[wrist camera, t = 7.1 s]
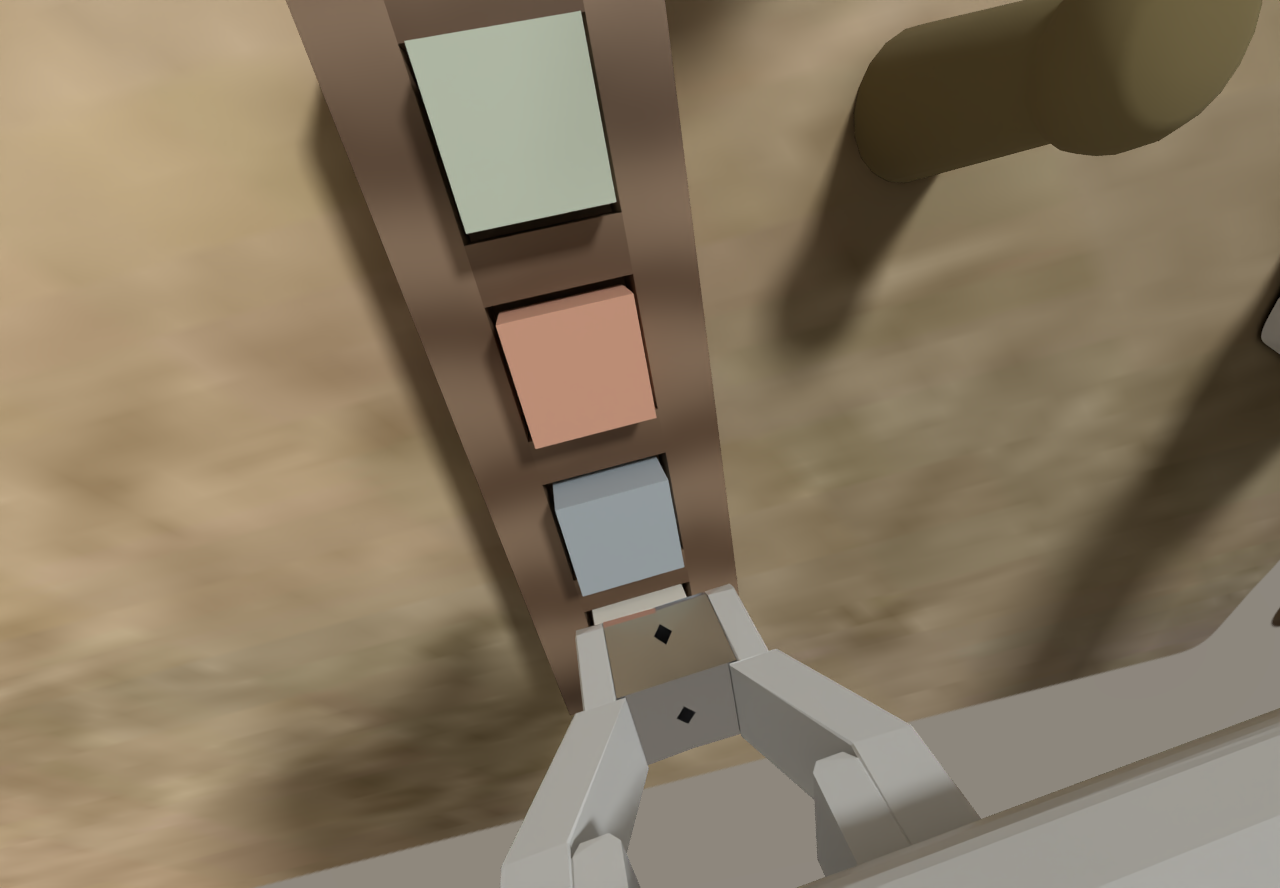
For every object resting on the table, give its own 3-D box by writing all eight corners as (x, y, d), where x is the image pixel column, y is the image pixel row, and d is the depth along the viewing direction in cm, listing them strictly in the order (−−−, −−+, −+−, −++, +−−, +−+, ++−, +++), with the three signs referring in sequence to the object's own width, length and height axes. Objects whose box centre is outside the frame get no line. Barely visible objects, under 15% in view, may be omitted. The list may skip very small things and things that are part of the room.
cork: (866, 205, 24) (1098, 204, 14) (841, 60, 21) (1109, -64, 11) (979, 149, 24) (1289, 110, 14) (969, -3, 21) (1347, -182, 11)
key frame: (331, 32, 18) (281, -12, 14) (631, -18, 19) (656, -70, 15) (565, 660, 33) (570, 715, 29) (723, 612, 34) (746, 659, 30)
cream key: (589, 591, 28) (594, 625, 26) (674, 566, 28) (686, 597, 26) (608, 652, 30) (614, 687, 28) (686, 628, 31) (698, 661, 28)
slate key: (552, 481, 23) (554, 510, 21) (655, 454, 24) (668, 479, 22) (577, 562, 26) (582, 596, 23) (671, 536, 26) (684, 567, 24)
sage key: (421, 63, 16) (404, 40, 14) (573, 36, 16) (580, 11, 14) (473, 230, 18) (466, 233, 16) (605, 202, 19) (616, 202, 16)
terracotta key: (499, 312, 20) (495, 325, 17) (621, 283, 20) (633, 293, 18) (534, 424, 22) (535, 449, 20) (643, 396, 22) (656, 417, 20)
